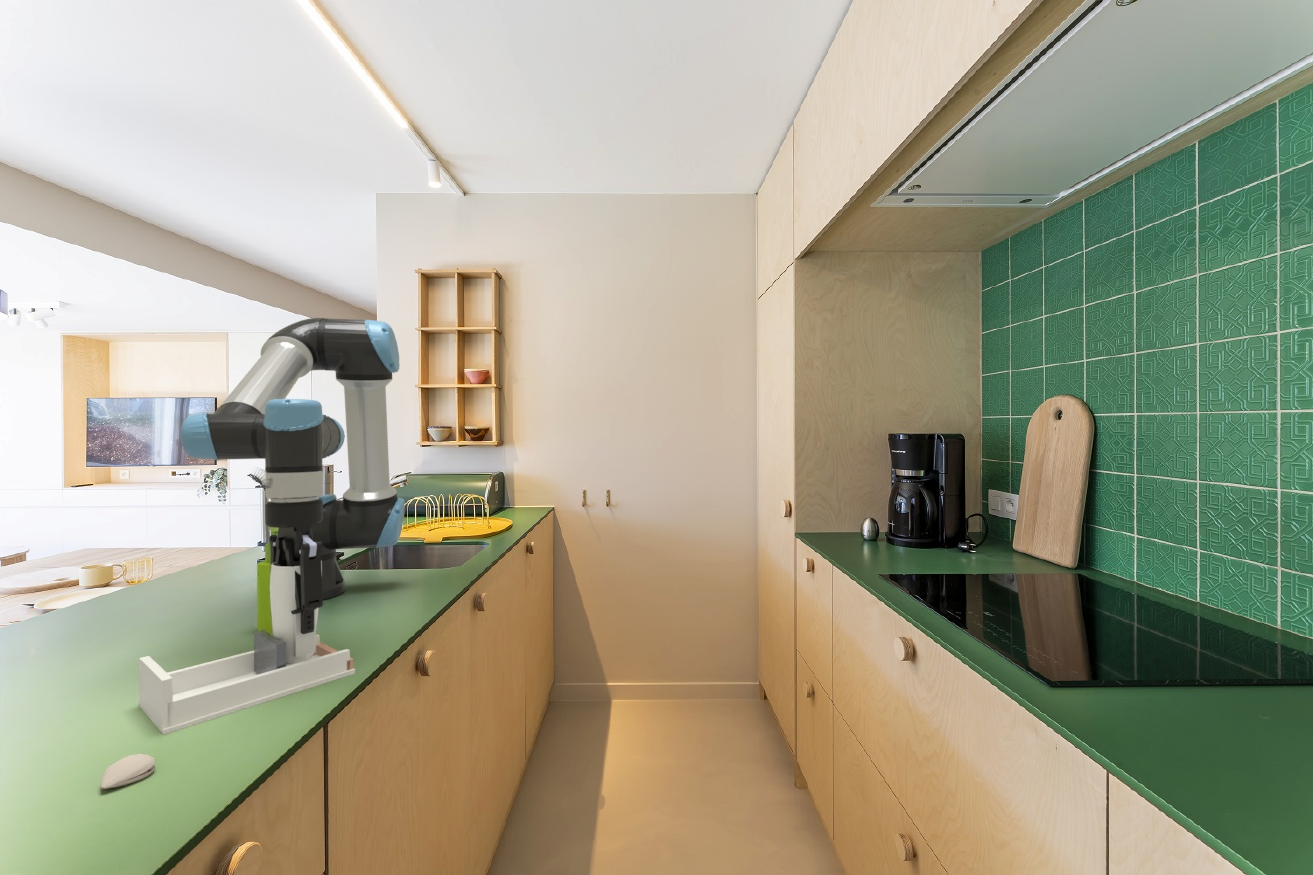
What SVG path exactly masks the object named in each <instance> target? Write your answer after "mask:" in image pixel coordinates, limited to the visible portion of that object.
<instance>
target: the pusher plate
mask: <svg viewBox="0 0 1313 875" xmlns="http://www.w3.org/2000/svg"><path fill="white" fill-rule="evenodd" d="M253 642H254V643H253V651H254V671H255V672H256V673H258V674H262V673H265V672H269V671H272V670H276V669H279V668H282V667H286V642H284V641H282V640H280V639H279V638H277V637H275V636H273V634H270V633H268V632H266V631H264V630H261V631H258V630H257V631H254V632H253Z"/></svg>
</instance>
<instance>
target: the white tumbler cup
mask: <svg viewBox="0 0 1313 875" xmlns="http://www.w3.org/2000/svg"><path fill="white" fill-rule="evenodd" d="M295 571H296V572H297V573H298V574H300V566H294V567H291V566H280V564H278V562H274V563H272V565H271V574H270V602H271V615H272V630H273V634H272V635H273V636H275V637H277V638H279V639H280V640H282V641H284V642H286V665H287V664H296V663H300V662H303V661H306V660H308V659H310V658H311V657H312V656H313V655H314V652H312V653H308V654H304V655H301V656H297V657H295V656H294V614H292V613H291V611H292V610H296V601H295ZM321 571H322V561H321ZM319 608H320V607H319ZM319 608H317V609H315V635H316V632H317V626H318V625H317V624H318V618H319V617H318V616H319Z"/></svg>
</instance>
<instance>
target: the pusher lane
mask: <svg viewBox="0 0 1313 875" xmlns="http://www.w3.org/2000/svg"><path fill="white" fill-rule="evenodd" d="M320 637H321V636H320V634H318V633H317V634H316V635H315V643H316V651H315V652H314V655H313V656H312V657H311V658H310V659H308V660H306V661H303V662H300V663H296V664H287V665H286V667H282V668H279V669H276V670H272V671H269V672H265V673H262V674H258V673H256V672H255V671H254V650H250V651H247V652H242V653H238V654H235V655H231V656H227V657H223V658H220V659H216V660H215V659H214V660H212V661H208V662H203V663H200V664H195V665H192V666H188V667H185V668H181V669H177V670H173V671H168V672H167V671H166V670H165V669H163V667H161V665H159V664H158V662H156V661H155V660H154V659H153V658H152V657H151V656H150V655H147V656H143V657H139V663H138V664H139V665H138V666H139V668H138V672H139V675H138V676H139V680H138V681H139V689H138V690H139V692H138V693H139V700H138V707H139V708H141V710H142V711H143V712H144V714H146V715H147V717H148V718H149V719H150V720H151V722H152V723H153V724H154V725H155V726H156V728H158V730H159V731H160V733H162V735H167V734H169V733H170V734H171V733H173V732H176V731H179V730H182V729H186V728H188V727H191V726H195V725H197V724H201V723H205V722H207V721H210V720H213V719H217V718H219V717H224V716H226V715H228V714H232V713H235V712H238V711H243V710H245V709H247V708H252V707H254V706H258V705H261V704H263V703H266V702H267V703H268V702H270V701H273V700H274V701H275V700H277V699H279V698H282V697H283V698H284V697H286V696H290V695H292V694H295V693H299V692H302V691H305V690H308V689H312V688H314V687H317V686H320V685H325V683H326V684H327V683H330V682H333V681H337V680H340V679H342V678H345V677H349V676H352V675H355V674H356V668H354V658H353V657H351V650H350V649H349V648H346V649H342V650H336V649H335V648H333V647H331V646H329V645H327V644H325V643H324V642H321V641H320V640H321V638H320Z"/></svg>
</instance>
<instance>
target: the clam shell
mask: <svg viewBox="0 0 1313 875" xmlns="http://www.w3.org/2000/svg"><path fill="white" fill-rule="evenodd" d="M155 763H156V759H155V758H154V757H153V756H151V755H149V754H144V753H138V754H130V755H126V756H125V757H122V758H121V759H119V760H117V761H115V762H114V763H112V764H110V765H109V766H108V767H107V768H106V769H105V771H104V772H103V774H102V776H101V779H100V788H101V789H103V790H104V789H105V790H106V789H113V788H118V787H123V786H124V787H125V786H128V785H131V784H134V783H135V782H138V781H141V780H143V779H145V778H147V777H149V776H150V775H151V774H152V773H154V771H155V769H156V766H155ZM149 770H150V771H149Z"/></svg>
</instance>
